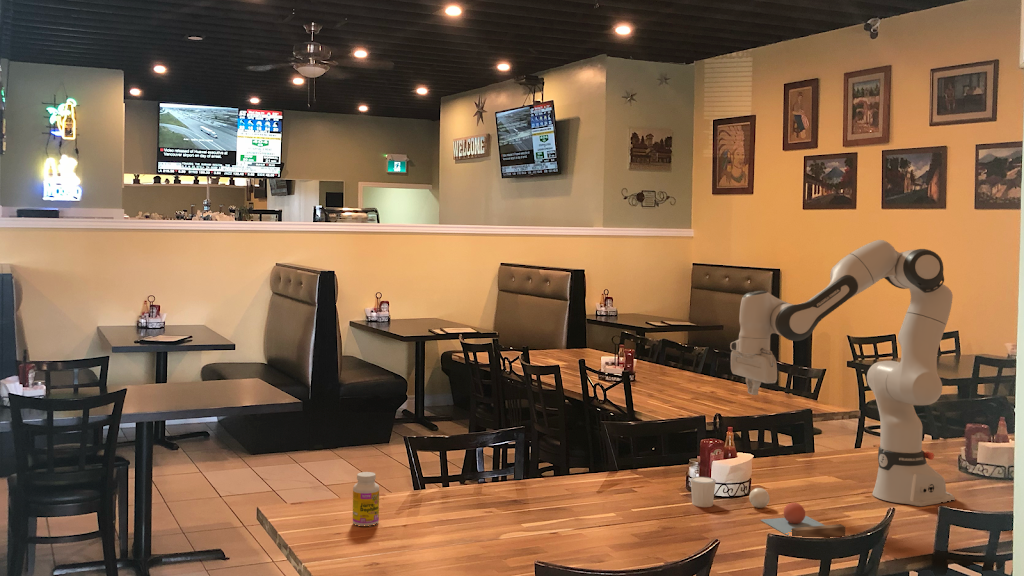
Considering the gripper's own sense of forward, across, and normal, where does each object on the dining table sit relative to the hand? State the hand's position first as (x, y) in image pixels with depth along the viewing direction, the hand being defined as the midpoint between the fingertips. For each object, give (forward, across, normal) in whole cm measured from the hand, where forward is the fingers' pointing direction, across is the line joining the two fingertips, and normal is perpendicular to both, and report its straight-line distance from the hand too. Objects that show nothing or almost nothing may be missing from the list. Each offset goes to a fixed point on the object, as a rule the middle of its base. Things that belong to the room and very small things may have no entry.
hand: (752, 394), depth 264 cm
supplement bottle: (+30, -3, +112) cm, 116 cm away
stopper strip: (+29, -40, +4) cm, 49 cm away
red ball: (+26, -28, +4) cm, 39 cm away
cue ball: (+26, -14, +5) cm, 30 cm away
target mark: (+29, -31, +4) cm, 43 cm away
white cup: (+29, -7, +19) cm, 36 cm away
